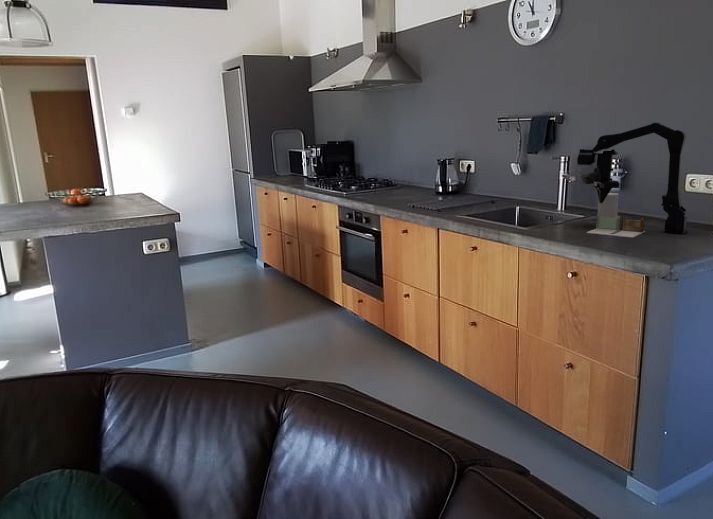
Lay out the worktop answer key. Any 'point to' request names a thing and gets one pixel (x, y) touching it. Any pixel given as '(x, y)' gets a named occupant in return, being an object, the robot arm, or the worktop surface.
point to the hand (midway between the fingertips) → (601, 202)
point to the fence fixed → (631, 225)
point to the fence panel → (608, 222)
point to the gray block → (609, 206)
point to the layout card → (615, 232)
